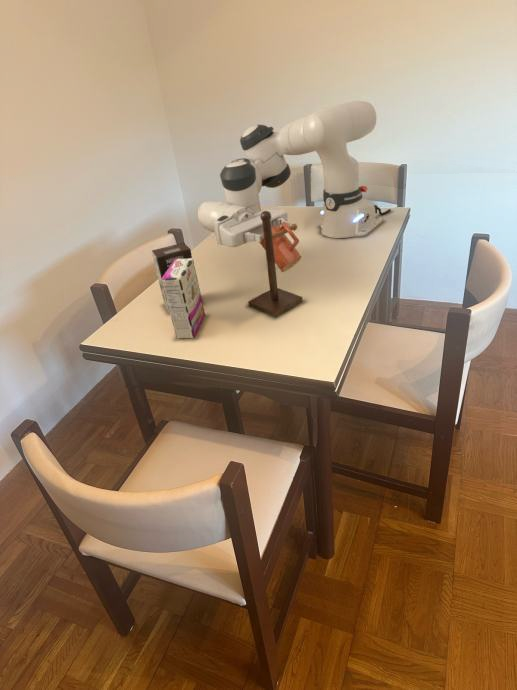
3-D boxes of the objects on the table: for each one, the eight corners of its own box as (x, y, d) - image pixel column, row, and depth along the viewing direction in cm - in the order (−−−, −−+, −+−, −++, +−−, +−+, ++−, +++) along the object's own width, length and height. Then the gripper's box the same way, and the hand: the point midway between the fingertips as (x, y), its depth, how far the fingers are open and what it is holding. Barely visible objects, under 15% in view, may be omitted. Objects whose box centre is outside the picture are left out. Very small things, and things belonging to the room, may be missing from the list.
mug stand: (287, 285, 135) (279, 196, 121) (314, 294, 128) (309, 202, 115) (248, 306, 127) (235, 214, 114) (275, 317, 121) (264, 221, 107)
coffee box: (170, 314, 129) (156, 257, 120) (164, 304, 134) (150, 249, 125) (202, 304, 131) (190, 248, 122) (195, 295, 136) (183, 241, 127)
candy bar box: (187, 316, 126) (174, 258, 118) (206, 316, 125) (194, 257, 117) (175, 339, 117) (159, 278, 108) (194, 339, 116) (180, 277, 107)
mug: (278, 275, 125) (255, 245, 126) (294, 266, 128) (272, 237, 130) (295, 252, 116) (270, 220, 117) (312, 243, 119) (288, 212, 121)
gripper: (268, 222, 139) (303, 231, 130) (213, 246, 128) (247, 257, 119) (266, 200, 136) (302, 208, 127) (209, 223, 125) (244, 233, 116)
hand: (275, 232), depth 123 cm, fingers open, 8 cm apart
